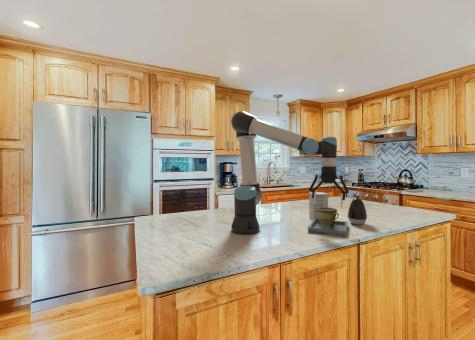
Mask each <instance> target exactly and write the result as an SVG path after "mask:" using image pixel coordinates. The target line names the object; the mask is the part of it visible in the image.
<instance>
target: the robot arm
mask: <svg viewBox="0 0 475 340" xmlns="http://www.w3.org/2000/svg"><path fill="white" fill-rule="evenodd" d="M230 123H231V128H232V129H233V130H234V131H235V135H236V140H238V141H239V152H240V153H239V155H240V166H241V167H240V169H241V179H242V181H241V183H240V184H239V186H237V187H235V188H234V193H233V196H234V198H233V199H234V202H233V203H234V206H233V208H234V216H233V220H232V223H231V229H230V230H231V232H232V233H235V234H239V235H252V234H257V233H259V232H260V231H261V230H260V229H261V228H260V224H259V221H258V217H257V206H258V204H260V202H261V200H262V198H263V193H262V190H261V183H260V181H259V180H258V178H257V165H256V163H257V162H256V149H255V139H256V138H257V136H258V137H262V138H264V139H267V140H269V141H271V142H274V143H276V144H277V143H278V144H280V145H283V146H286V147H289V148H291V149H295V150H297V151H298V154H299V155H301V156H313V155H314V156H316V155H317V156H318V155H319V156H321V170H320V172H321V173H320V174H315V175H314V179H313V181H312V183H311V184H310V187H309V188H308V191H309V192H312V198H314V204H316V192H317V190H318V189H319V188H320V186H322V185H323V184H324V183H325V184H333V185H334V186H336V188H337V189H338V190H339V191H340V192H341V193H340V207H343V205H344V204H343V203H344V201H346V194H349V192H350V190H349V188H348V187H347V184H346V183H345V181H344V179H343V178H344V177H343V175H342V174H341V175H337V164H338V163H337V162H338V161H337V160H338V159H337V157H338V156H337V155H338V152H337V151H338V139H337V137H336V136H323V137H322V139H321V140H316V139H315V138H313V137H308V136H304V135H302V134H299V133H296V132H293V131H292V130H291V131H290V130H288V129H285V128H281V127H279V126H276V125H274V124H271V123H268V122H265V121H262V120H260V119H258V117H257V116H254V115H252V114H250V113H248V112H246V111H242V110H241V111H238V112H235V113H234V114H233V115H232V117H231V120H230ZM318 179H321V181H320V182H319V183H318V184H317V185H316V183H317V181H318ZM336 180H339V181H340V183H341V185H342V187H343V188H342V187H341V186H340V184H339V183H338V182H337V181H336ZM315 185H316V186H315ZM314 186H315V187H314Z"/></svg>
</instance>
